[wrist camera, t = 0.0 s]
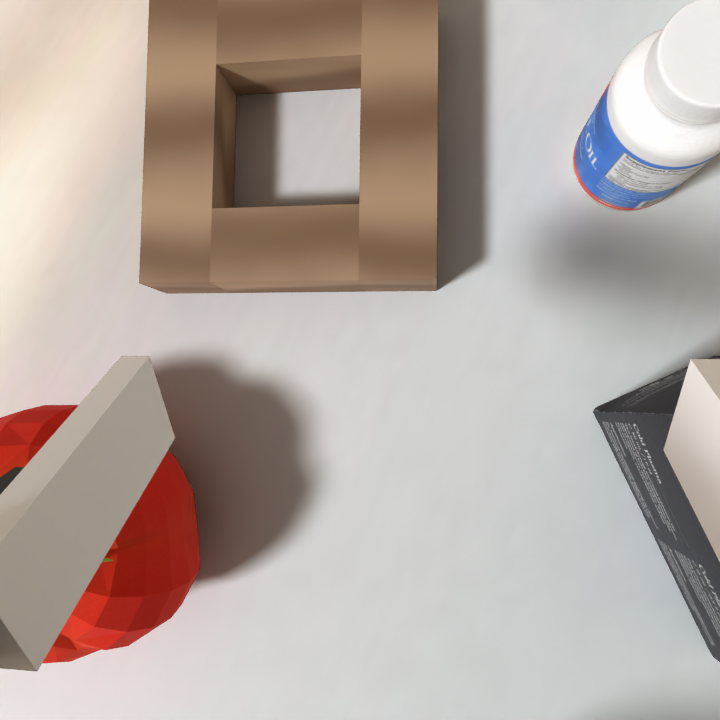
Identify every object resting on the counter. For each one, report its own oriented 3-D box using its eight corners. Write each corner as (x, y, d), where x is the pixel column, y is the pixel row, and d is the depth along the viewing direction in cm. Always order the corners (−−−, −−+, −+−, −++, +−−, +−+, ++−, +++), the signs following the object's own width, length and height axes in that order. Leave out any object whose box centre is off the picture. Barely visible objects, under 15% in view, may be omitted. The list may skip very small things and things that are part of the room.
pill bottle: (585, 101, 29) (660, -44, 19) (692, 122, 28) (827, -18, 19) (557, 202, 29) (619, 107, 19) (664, 226, 28) (785, 139, 19)
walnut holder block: (436, 290, 29) (436, 279, 26) (167, 293, 31) (139, 282, 28) (438, 16, 30) (438, -25, 27) (175, 35, 32) (149, -1, 29)
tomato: (-26, 528, 32) (-189, 577, 24) (103, 358, 32) (-16, 346, 23) (132, 681, 30) (17, 792, 22) (272, 503, 30) (208, 547, 22)
